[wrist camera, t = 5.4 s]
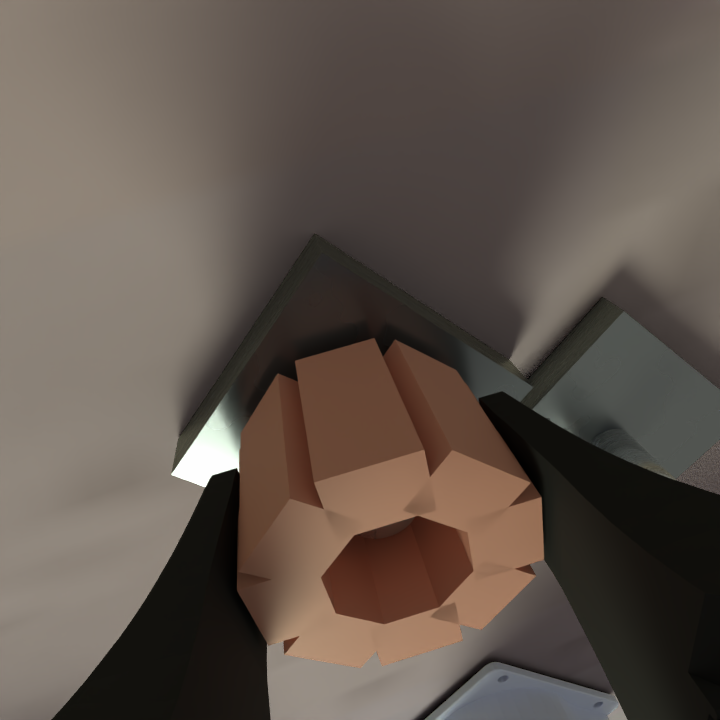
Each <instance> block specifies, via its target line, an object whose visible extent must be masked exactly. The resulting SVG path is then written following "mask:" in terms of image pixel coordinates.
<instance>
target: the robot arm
mask: <svg viewBox="0 0 720 720" xmlns="http://www.w3.org/2000/svg"><path fill="white" fill-rule="evenodd" d="M479 404H480V406H481V407H482V409H483V410H484V412H485V414H486V415H487V417H488V418H489V420H490V421H491V423H492V424H493V426H494V427H495V429H496V430H497V431H498V432H499V434H500V435H501V437H502V438H503V440H504V441H505V443H506V444H507V446H508V447H509V449H510V450H511V452H512V453H513V455H514V456H515V458H516V459H517V461H518V462H519V464H520V465H521V467H522V468H523V470H524V471H525V473H526V474H527V476H528V477H529V479H530V480H531V482H532V483H533V485H534V486H535V488H536V489H537V491H538V492H539V494H540V495H541V497H542V520H543V544H544V560H545V561H546V563H547V565H548V566H549V568H550V569H551V571H552V572H553V574H554V576H555V577H556V579H557V581H558V582H559V584H560V586H561V587H562V589H563V591H564V593H565V595H566V597H567V599H568V601H569V603H570V605H571V606H572V608H573V610H574V612H575V614H576V616H577V618H578V620H579V622H580V624H581V626H582V628H583V630H584V632H585V634H586V636H587V638H588V640H589V642H590V644H591V646H592V648H593V650H594V652H595V654H596V655H597V657H598V659H599V661H600V663H601V665H602V667H603V669H604V672H605V674H606V676H607V678H608V680H609V682H610V684H611V686H612V688H613V690H614V692H615V694H616V697H617V699H618V701H619V703H620V705H621V707H622V709H623V711H624V713H625V715H626V717H627V719H628V720H720V495H719V494H715V493H712V492H709V491H706V490H703V489H700V488H697V487H694V486H691V485H688V484H685V483H682V482H679V481H676V480H673V479H671V478H668V477H665V476H663V475H660V474H657V473H655V472H652V471H650V470H648V469H645V468H643V467H640V466H638V465H636V464H633V463H631V462H628V461H626V460H624V459H622V458H619V457H617V456H615V455H613V454H611V453H609V452H607V451H605V450H603V449H601V448H599V447H597V446H595V445H593V444H591V443H589V442H587V441H585V440H583V439H581V438H579V437H578V436H576V435H574V434H572V433H571V432H569V431H567V430H565V429H564V428H562V427H560V426H558V425H557V424H555V423H553V422H552V421H550V420H548V419H547V418H545V417H543V416H542V415H540V414H538V413H537V412H535V411H534V410H532V409H530V408H529V407H527V406H526V405H524V404H522V403H521V402H519V401H518V400H516V399H514V398H513V397H511V396H510V395H508V394H506V393H505V392H503V391H501V392H497V393H494V394H490V395H487V396H483V397H480V398H479ZM239 507H240V474H239V472H238V470H237V468H235V469H231V470H228V471H225V472H221V473H218V474H214V475H212V476H211V477H210V479H209V481H208V483H207V485H206V487H205V489H204V491H203V493H202V496H201V498H200V500H199V502H198V504H197V506H196V508H195V510H194V512H193V515H192V517H191V519H190V521H189V523H188V525H187V527H186V529H185V531H184V533H183V534H182V536H181V538H180V540H179V542H178V544H177V546H176V548H175V550H174V552H173V554H172V555H171V557H170V559H169V561H168V563H167V564H166V566H165V568H164V569H163V571H162V573H161V575H160V576H159V578H158V580H157V582H156V583H155V585H154V587H153V588H152V590H151V592H150V593H149V595H148V596H147V598H146V600H145V601H144V603H143V604H142V606H141V607H140V609H139V610H138V612H137V613H136V615H135V616H134V618H133V619H132V621H131V622H130V624H129V625H128V626H127V628H126V629H125V631H124V632H123V633H122V635H121V636H120V638H119V639H118V640H117V641H116V643H115V644H114V645H113V647H112V648H111V649H110V650H109V652H108V653H107V654H106V656H105V657H104V658H103V659H102V661H101V662H100V663H99V665H98V666H97V667H96V668H95V670H94V671H93V672H92V673H91V675H90V676H89V677H88V679H87V680H86V681H85V682H84V683H83V685H82V686H81V687H80V688H79V689H78V690H77V692H76V693H75V694H74V695H73V696H72V697H71V698H70V700H69V701H68V702H67V703H66V704H65V705H64V707H63V708H62V709H61V710H60V711H59V712H58V713H57V714H56V715H55V717H54V718H53V719H52V720H270V708H269V696H268V684H267V642H266V640H265V639H264V637H263V635H262V633H261V632H260V630H259V628H258V626H257V625H256V623H255V621H254V619H253V618H252V616H251V614H250V612H249V611H248V609H247V607H246V605H245V604H244V602H243V600H242V598H241V597H240V595H239V593H238V591H237V554H238V515H239ZM618 701H617V700H616V698H615V696H613V695H610V694H607V693H603V692H600V691H596V690H593V689H590V688H586V687H583V686H579V685H576V684H572V683H569V682H565V681H562V680H559V679H555V678H552V677H548V676H545V675H541V674H538V673H534V672H531V671H527V670H524V669H521V668H517V667H514V666H510V665H507V664H503V663H500V662H491V663H489V664H487V665H486V666H484V667H483V668H482V669H481V670H480V671H479V672H478V673H476V674H475V675H474V676H473V677H472V678H471V679H470V680H469V681H467V682H466V683H465V684H464V685H463V686H462V687H461V688H460V689H458V690H457V691H456V692H455V693H454V694H453V695H452V696H451V697H449V698H448V699H447V700H446V701H445V702H444V703H443V704H442V705H440V706H439V707H438V708H437V709H436V710H435V711H434V712H433V713H431V714H430V715H429V716H428V717H427V718H426V719H425V720H609V718H608V716H607V715H609V714H610V713H611V712H612V711H614V710H615V709H616V708H617V707H618Z"/></svg>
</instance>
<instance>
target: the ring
mask: <svg viewBox="0 0 720 720" xmlns="http://www.w3.org/2000/svg"><path fill="white" fill-rule="evenodd" d="M295 365H296V371H297V377H298V382H297V381H295V380H293V379H290V378H288V377H286V376H283V375H281V374H277V375H276V377H275V378H274V380H273V382H272V383H271V385H270V387H269V388H268V390H267V391H266V393H265V395H264V396H263V398H262V400H261V401H260V403H259V404H258V406H257V408H256V409H255V411H254V412H253V414H252V416H251V417H250V419H249V421H248V422H247V424H246V425H245V427H244V429H243V430H242V432H241V443H240V449H239V474H240V507H239V515H238V554H237V591H238V593H239V595H240V597H241V598H242V600H243V602H244V604H245V605H246V607H247V609H248V611H249V612H250V614H251V616H252V618H253V619H254V621H255V623H256V625H257V626H258V628H259V630H260V632H261V633H262V635H263V637H264V639H265V640H266V642H267V644H268V646H269V645H272V644H275V643H279V642H282V641H284V655H289V656H294V657H300V658H306V659H311V660H317V661H323V662H329V663H334V664H340V665H346V666H351V667H357V668H361V667H362V666H363V665H364V664H365V663H366V661H367V660H368V659H369V658H370V657H371V656H372V655H373V654H374V653H375V652H376V651H377V654H378V656H379V659H380V662H381V664H382V666H384V665H387V664H390V663H394V662H397V661H400V660H403V659H406V658H409V657H413V656H416V655H419V654H422V653H425V652H428V651H431V650H435V649H438V648H441V647H444V646H447V645H450V644H454V643H457V642H460V641H463V639H462V634H461V629H460V625H464V626H468V627H472V628H476V629H481V630H482V629H483V628H484V627H485V626H486V625H487V624H488V623H489V622H490V621H491V620H492V619H493V618H494V617H495V616H496V615H497V614H498V613H499V612H500V611H501V610H502V609H503V608H504V607H505V606H506V605H507V604H508V603H509V602H510V601H511V600H512V599H513V598H514V597H515V596H516V595H517V594H518V593H519V592H520V591H521V590H522V589H523V588H524V587H525V586H526V585H527V584H528V583H529V582H530V581H531V580H532V579H533V578H534V577H536V575H535V573H534V571H533V569H532V568H531V566H530V564H532V563H535V562H538V561H541V560H544V544H543V520H542V497H541V495H540V494H539V492H538V491H537V489H536V488H535V486H534V485H533V483H532V482H531V480H530V479H529V477H528V476H527V474H526V473H525V471H524V470H523V468H522V467H521V465H520V464H519V462H518V461H517V459H516V458H515V456H514V455H513V453H512V452H511V450H510V449H509V447H508V446H507V444H506V443H505V441H504V440H503V438H502V437H501V435H500V434H499V432H498V431H497V430H496V429H495V427H494V426H493V424H492V423H491V421H490V420H489V418H488V417H487V415H486V414H485V412H484V410H483V409H482V407H481V406H480V404H479V402H478V401H477V399H476V398H475V396H474V395H473V393H472V392H471V390H470V388H469V387H468V385H467V384H466V383H465V382H464V381H463V379H462V378H461V376H460V375H459V373H458V372H457V370H455V369H453V368H451V367H449V366H447V365H445V364H443V363H441V362H439V361H437V360H435V359H433V358H431V357H429V356H427V355H425V354H423V353H421V352H419V351H417V350H415V349H413V348H411V347H409V346H407V345H405V344H403V343H401V342H399V341H397V340H394V342H393V343H392V345H391V346H390V347H389V349H388V350H387V352H386V353H385V355H384V356H382V354H381V352H380V349H379V347H378V345H377V343H376V341H375V338H373V339H369V340H366V341H362V342H359V343H355V344H352V345H348V346H345V347H341V348H338V349H334V350H331V351H327V352H324V353H320V354H317V355H313V356H310V357H306V358H303V359H299V360H296V361H295ZM412 517H415V518H414V519H413V521H412V522H411V523H410V524H409V525H408V526H407V527H406V528H405V529H404V530H402V531H401V532H399V533H397V534H395V535H392V536H389V537H386V538H380V539H369V538H364V537H361V536H358V535H357V534H360V533H363V532H366V531H370V530H373V529H376V528H379V527H383V526H386V525H389V524H393V523H396V522H399V521H402V520H406V519H409V518H412Z"/></svg>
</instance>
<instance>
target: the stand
mask: <svg viewBox="0 0 720 720" xmlns="http://www.w3.org/2000/svg"><path fill="white" fill-rule="evenodd" d="M528 382H529V383H530V384H531V385H532V386H533V388H532V389H531V390H530V392H529V393H528V394H527V395H526V396H525V397H524V398H523V399H522V400H521V401H520V402H521V403H522V404H524V405H526V406H527V407H529V408H530V409H532V410H534V411H535V412H537V413H538V414H540V415H542V416H543V417H545V418H547V419H548V420H550V421H552V422H553V423H555V424H557V425H558V426H560V427H562V428H564V429H565V430H567V431H569V432H571V433H572V434H574V435H576V436H578V437H579V438H581V439H583V440H585V441H587V442H589V443H591V444H593V445H595V446H597V447H599V448H601V449H603V450H605V451H607V452H609V453H611V454H613V455H615V456H617V457H619V458H622V459H624V460H626V461H628V462H631V463H633V464H636V465H638V466H640V467H643V468H645V469H648V470H650V471H652V472H655V473H657V474H660V475H663V476H665V477H668V478H671V479H673V480H676V478H677V477H679V476H680V475H681V474H682V473H683V472H684V471H685V470H686V469H687V468H689V467H690V466H691V465H692V464H693V463H694V462H695V461H696V460H697V459H699V458H700V457H701V456H702V455H703V454H704V453H705V452H706V451H707V450H709V449H710V448H711V447H712V446H713V445H714V444H715V443H716V442H717V441H719V440H720V389H718V388H717V387H716V386H715V385H713V384H712V383H711V382H710V381H709V380H707V379H706V378H705V377H704V376H703V375H701V374H700V373H699V372H698V371H696V370H695V369H694V368H693V367H692V366H690V365H689V364H688V363H687V362H685V361H684V360H683V359H682V358H681V357H679V356H678V355H677V354H676V353H674V352H673V351H672V350H671V349H670V348H668V347H667V346H666V345H665V344H663V343H662V342H661V341H660V340H659V339H657V338H656V337H655V336H654V335H652V334H651V333H650V332H649V331H648V330H646V329H645V328H644V327H643V326H642V325H640V324H639V323H638V322H637V321H635V320H634V319H633V318H632V317H631V316H629V315H628V314H627V313H626V312H624V311H623V310H621V309H620V308H618V307H617V306H615V305H614V304H612V303H611V302H609V301H608V300H606V299H605V298H603V297H602V298H601V300H600V301H599V302H598V303H597V304H596V305H595V306H594V307H593V308H592V309H591V311H590V312H589V313H588V314H587V315H586V316H585V317H584V318H583V319H582V320H581V322H580V323H579V324H578V325H577V326H576V327H575V328H574V329H573V330H572V332H571V333H570V334H569V335H568V336H567V337H566V338H565V339H564V340H563V341H562V343H561V344H560V345H559V346H558V347H557V348H556V349H555V350H554V351H553V352H552V354H551V355H550V356H549V357H548V358H547V359H546V360H545V361H544V362H543V363H542V365H541V366H540V367H539V368H538V369H537V370H536V371H535V372H534V373H533V374H532V376H531V377H530V378H529V379H528ZM676 481H677V480H676Z"/></svg>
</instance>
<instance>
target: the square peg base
mask: <svg viewBox="0 0 720 720" xmlns="http://www.w3.org/2000/svg"><path fill="white" fill-rule="evenodd" d="M373 338H375V341H376V343H377V345H378V347H379V349H380V352H381V354H382V356H384V355H385V353H386V352H387V350H388V349H389V347H390V346H391V345H392V343H393V342H394V340H397V341H399V342H401V343H403V344H405V345H407V346H409V347H411V348H413V349H415V350H417V351H419V352H421V353H423V354H425V355H427V356H429V357H431V358H433V359H435V360H437V361H439V362H441V363H443V364H445V365H447V366H449V367H451V368H453V369H455V370H457V372H458V373H459V375H460V376H461V378H462V379H463V381H464V382H465V383H466V384H467V385H468V387H469V388H470V390H471V392H472V393H473V395H474V396H475V398H476V399H477V401H478V402H479V398H480V397H483V396H487V395H490V394H494V393H497V392H501V391H503V392H505V393H506V394H508V395H510V396H511V397H513V398H514V399H516V400H518V401H519V402H520V401H521V400H522V399H523V398H524V397H525V396H526V395H527V394H528V393H529V392H530V390H531V389H532V388H533V386H532V385H531V384H530V383H529V382H528V380H527V379H526V378H525V377H524V376H523V375H522V374H521V372H520V371H519V370H518V369H517V368H516V367H515V366H514V365H513V363H512V362H511V361H510V360H508V359H507V358H505V357H504V356H502V355H501V354H499V353H498V352H496V351H495V350H493V349H491V348H490V347H488V346H487V345H485V344H484V343H482V342H481V341H479V340H478V339H476V338H475V337H473V336H471V335H470V334H468V333H467V332H465V331H464V330H462V329H461V328H459V327H458V326H456V325H455V324H453V323H451V322H450V321H448V320H447V319H445V318H444V317H442V316H441V315H439V314H438V313H436V312H435V311H433V310H432V309H430V308H428V307H427V306H425V305H424V304H422V303H421V302H419V301H418V300H416V299H415V298H413V297H412V296H410V295H408V294H407V293H405V292H404V291H402V290H401V289H399V288H398V287H396V286H395V285H393V284H392V283H390V282H388V281H387V280H385V279H384V278H382V277H381V276H379V275H378V274H376V273H375V272H373V271H372V270H370V269H368V268H367V267H365V266H364V265H362V264H361V263H359V262H358V261H356V260H355V259H353V258H352V257H350V256H349V255H347V254H345V253H344V252H342V251H341V250H339V249H338V248H336V247H335V246H333V245H332V244H330V243H329V242H327V241H325V240H324V239H322V238H321V237H319V236H318V235H316V234H314V235H313V237H312V238H311V240H310V241H309V243H308V244H307V246H306V247H305V249H304V250H303V252H302V253H301V255H300V256H299V258H298V259H297V261H296V262H295V264H294V265H293V267H292V268H291V270H290V271H289V273H288V274H287V276H286V277H285V279H284V281H283V282H282V284H281V285H280V287H279V288H278V290H277V291H276V293H275V294H274V296H273V297H272V299H271V300H270V302H269V303H268V305H267V306H266V308H265V309H264V311H263V312H262V314H261V315H260V317H259V318H258V320H257V321H256V323H255V324H254V326H253V327H252V329H251V330H250V332H249V333H248V335H247V336H246V338H245V339H244V341H243V342H242V344H241V345H240V347H239V348H238V350H237V351H236V353H235V354H234V356H233V357H232V359H231V360H230V362H229V363H228V365H227V366H226V368H225V369H224V371H223V372H222V374H221V375H220V377H219V378H218V380H217V381H216V383H215V384H214V386H213V387H212V389H211V390H210V392H209V393H208V395H207V396H206V398H205V399H204V401H203V402H202V404H201V405H200V407H199V408H198V410H197V411H196V413H195V414H194V416H193V417H192V419H191V420H190V422H189V423H188V425H187V426H186V428H185V429H184V431H183V432H182V434H181V435H180V437H179V438H178V442H177V448H176V453H175V458H174V463H173V469H172V474H171V475H174V476H176V477H179V478H182V479H185V480H187V481H190V482H193V483H195V484H198V485H201V486H204V487H206V485H207V483H208V481H209V479H210V477H211V476H212V475H214V474H218V473H221V472H225V471H228V470H231V469H235V468H237V470H238V472H239V449H240V443H241V432H242V430H243V429H244V427H245V425H246V424H247V422H248V421H249V419H250V417H251V416H252V414H253V412H254V411H255V409H256V408H257V406H258V404H259V403H260V401H261V400H262V398H263V396H264V395H265V393H266V391H267V390H268V388H269V387H270V385H271V383H272V382H273V380H274V378H275V377H276V375H277V374H281V375H283V376H286V377H288V378H290V379H293V380H295V381H297V382H298V377H297V371H296V365H295V361H296V360H299V359H303V358H306V357H310V356H313V355H317V354H320V353H324V352H327V351H331V350H334V349H338V348H341V347H345V346H348V345H352V344H355V343H359V342H362V341H366V340H369V339H373ZM414 518H415V517H412V518H409V519H406V520H402V521H399V522H396V523H393V524H389V525H386V526H383V527H379V528H376V529H373V530H370V531H366V532H363V533H360V534H357V535H358V536H361V537H364V538H369V539H380V538H386V537H389V536H392V535H395V534H397V533H399V532H401V531H402V530H404V529H405V528H406V527H407V526H408V525H409V524H410V523H411V522H412V521H413V519H414Z"/></svg>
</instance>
